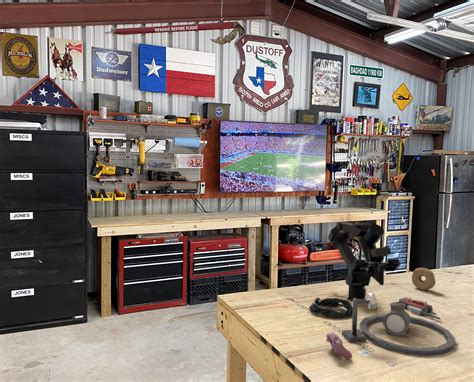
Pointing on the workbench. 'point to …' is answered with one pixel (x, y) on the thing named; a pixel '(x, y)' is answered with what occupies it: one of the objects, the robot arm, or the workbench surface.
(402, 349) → the ring
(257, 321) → the workbench surface
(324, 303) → the cable
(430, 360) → the workbench surface
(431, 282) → the stone disc
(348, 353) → the purple elongated lump
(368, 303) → the stand
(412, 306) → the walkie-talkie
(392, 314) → the pipe fitting
